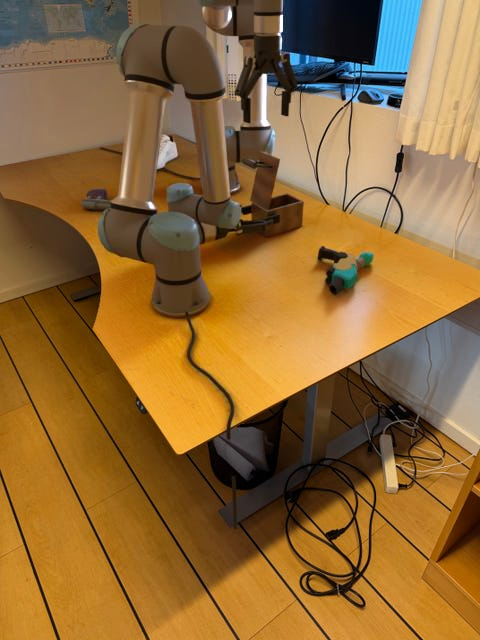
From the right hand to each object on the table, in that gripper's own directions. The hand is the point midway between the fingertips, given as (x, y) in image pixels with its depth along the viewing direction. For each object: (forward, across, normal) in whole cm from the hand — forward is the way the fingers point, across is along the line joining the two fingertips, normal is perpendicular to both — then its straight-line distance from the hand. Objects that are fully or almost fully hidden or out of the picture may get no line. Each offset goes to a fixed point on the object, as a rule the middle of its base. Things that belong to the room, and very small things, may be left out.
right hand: (266, 118), depth 139 cm
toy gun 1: (+36, +36, -51) cm, 72 cm away
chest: (+36, -5, 0) cm, 36 cm away
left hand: (+29, -2, 0) cm, 30 cm away
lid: (+19, 0, 0) cm, 19 cm away
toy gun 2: (+36, 0, +35) cm, 50 cm away
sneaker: (+36, -1, -85) cm, 92 cm away
